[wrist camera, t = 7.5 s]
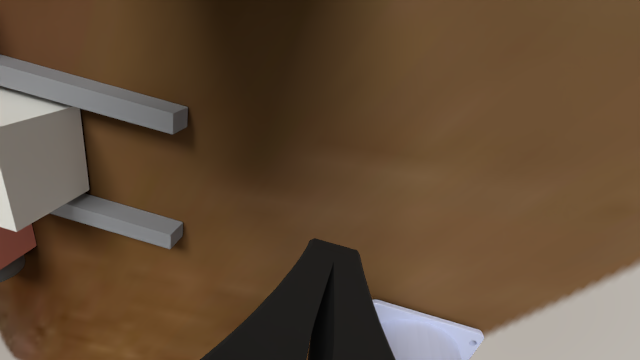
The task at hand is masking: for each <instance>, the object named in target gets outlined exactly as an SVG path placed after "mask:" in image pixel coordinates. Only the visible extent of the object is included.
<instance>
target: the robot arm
mask: <svg viewBox="0 0 640 360" xmlns="http://www.w3.org/2000/svg"><path fill="white" fill-rule="evenodd" d="M310 337H311V339H310ZM483 339H484V336H483V333H482V332H481V331H480V330H478V329H475V328H472V327H468V326H465V325H462V324H458V323H455V322H451V321H448V320H445V319H441V318H438V317H435V316H431V315H428V314H424V313H421V312H418V311H414V310H411V309H407V308H404V307H401V306H397V305H394V304H391V303H387V302H384V301H380V300H376V299H375V300H372V298H371V295H370V292H369V289H368V285H367V282H366V279H365V275H364V271H363V267H362V263H361V259H360V254H359V253H358V251H357V250H354V249H350V248H347V247H343V246H340V245H336V244H333V243H329V242H326V241H322V240H319V239H315V238H314V239H312V240H310V241H309V244H308V246H307V248H306V249H305V251H304V253H303V254H302V256H301V257H300V259H299V260H298V261H297V263H296V264H295V266H294V267H293V268H292V270H291V271H290V272H289V273H288V274H287V276H286V277H285V278H284V279H283V280H282V282H281V283H280V284H279V285H278V286H277V288H276V289H275V290H274V291H273V292H272V293H271V294H270V295H269V296H268V297H267V298H266V299H265V300H264V302H263V303H262V304H261V305H260V306H259V307H258V308H257V309H256V310H255V311H254V312H253V313H252V314H251V315H250V316H249V317H248V318H247V319H246V320H245V321H244V322H243V323H242V324H241V325H239V326H238V327H237V328H236V329H235V330H234V331H233V332H232V333H231V334H230V335H228V336H227V337H226V338H225V339H224V340H223V341H222V342H221V343H219V344H218V345H217V346H216V347H215V348H213V349H212V350H211V351H210V352H209V353H207V354H206V355H205V356H204V357H203V358H201V359H200V360H306V358H307V353H308V348H309V354H308V360H469V359H470V358H471V356H472V355H473V353H474V352H475V351H476V349H477V348H478V347H479V345H480V344H481V342H482V341H483ZM472 340H473V341H472ZM309 342H310V347H309Z"/></svg>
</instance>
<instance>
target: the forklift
mask: <svg viewBox="0 0 640 360" xmlns="http://www.w3.org/2000/svg"><path fill="white" fill-rule="evenodd" d="M0 86H3V87H7V88H10V89H14V90H17V91H21V92H25V93H28V94H32V95H35V96H39V97H42V98H46V99H49V100H53V101H56V102H60V103H63V104H67V105H70V106H74V107H77V108H81V109H84V110H88V111H91V112H95V113H98V114H102V115H106V116H109V117H113V118H116V119H120V120H123V121H127V122H130V123H134V124H137V125H141V126H144V127H148V128H151V129H155V130H158V131H162V132H165V133H169V134H172V135H173V134H175V133H177V132H178V131H180V130H182V129H184V128H186V127H187V118H188V107H186V106H182V105H179V104H175V103H172V102H168V101H165V100H161V99H157V98H154V97H150V96H147V95H143V94H140V93H136V92H132V91H129V90H125V89H122V88H118V87H115V86H111V85H107V84H104V83H100V82H97V81H93V80H90V79H86V78H82V77H79V76H75V75H72V74H68V73H65V72H61V71H58V70H54V69H50V68H47V67H43V66H40V65H36V64H33V63H29V62H25V61H22V60H18V59H15V58H11V57H8V56H4V55H0ZM50 214H54V215H57V216H60V217H64V218H67V219H70V220H74V221H77V222H80V223H84V224H87V225H91V226H94V227H97V228H101V229H104V230H107V231H111V232H114V233H118V234H121V235H124V236H128V237H131V238H134V239H138V240H141V241H144V242H148V243H151V244H155V245H158V246H161V247H165V248H168V249H171V248H172V247H173V246H174V245H175V244H176V243H177V241H178V240H179V239H180V238H181V237H182V236H183V222H180V221H177V220H174V219H170V218H167V217H163V216H160V215H157V214H153V213H150V212H146V211H143V210H140V209H136V208H133V207H129V206H126V205H123V204H119V203H116V202H112V201H109V200H106V199H102V198H99V197H95V196H92V195H88V194H85V193H83V194H81V195H80V196H78V197H76V198H75V199H73V200H71V201H69V202H68V203H66V204H64V205H62V206H61V207H59V208H57V209H56V210H54V211H52V212H50ZM36 246H37V245H36V240H35V236H34V232H33V227H32V223H31V224H30V225H28V226H26V227H24V228H23V229H21V230H19V231H18V232H15V231H12V230H9V229H5V228H2V227H0V282H2V281H5V280H7V279H9V278H11V277H13V276H14V275H16V274H17V273H18V272H20V271H21V270H22V268H23V267H24V265H25V257H24V254H25V253H27V252H28V251H30V250H31V249H33V248H34V247H36Z"/></svg>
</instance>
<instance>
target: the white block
mask: <svg viewBox="0 0 640 360" xmlns="http://www.w3.org/2000/svg"><path fill="white" fill-rule="evenodd" d="M88 190H89V182H88V173H87V165H86V156H85V148H84V139H83V131H82V122H81V114H80V108H77V107H74V106H70V105H67V104H63V103H60V102H56V101H53V100H49V99H46V98H42V97H39V96H35V95H32V94H28V93H25V92H21V91H17V90H14V89H10V88H7V87H3V86H0V227H2V228H5V229H9V230H12V231H15V232H18V231H19V230H21V229H23V228H24V227H26V226H28V225H30V224H31V223H33V222H35V221H37V220H38V219H40V218H42V217H43V216H45V215H47V214H49V213H50V212H52V211H54V210H56V209H57V208H59V207H61V206H62V205H64V204H66V203H68V202H69V201H71V200H73V199H75V198H76V197H78V196H80V195H81V194H83V193H85V192H87V191H88Z"/></svg>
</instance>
